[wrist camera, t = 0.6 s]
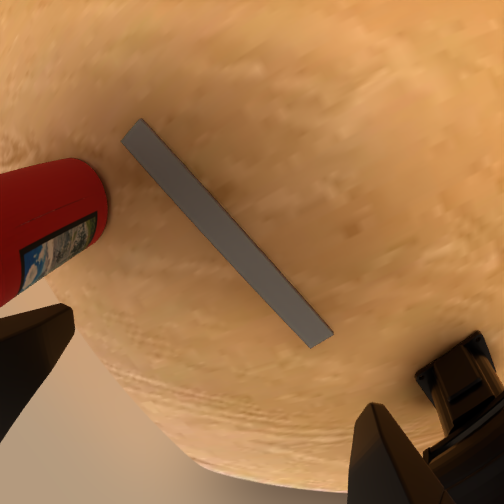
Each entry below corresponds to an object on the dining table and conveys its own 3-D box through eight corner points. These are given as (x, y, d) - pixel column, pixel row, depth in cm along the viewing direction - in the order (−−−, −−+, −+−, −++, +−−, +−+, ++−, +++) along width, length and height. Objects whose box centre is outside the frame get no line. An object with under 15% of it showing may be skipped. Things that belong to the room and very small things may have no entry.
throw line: (333, 332, 21) (333, 334, 21) (310, 346, 22) (310, 348, 21) (141, 118, 18) (139, 118, 17) (122, 141, 18) (120, 141, 18)
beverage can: (65, 252, 22) (-44, 327, 11) (39, 174, 20) (-85, 219, 9) (126, 233, 21) (0, 325, 10) (98, 142, 19) (-53, 174, 7)
